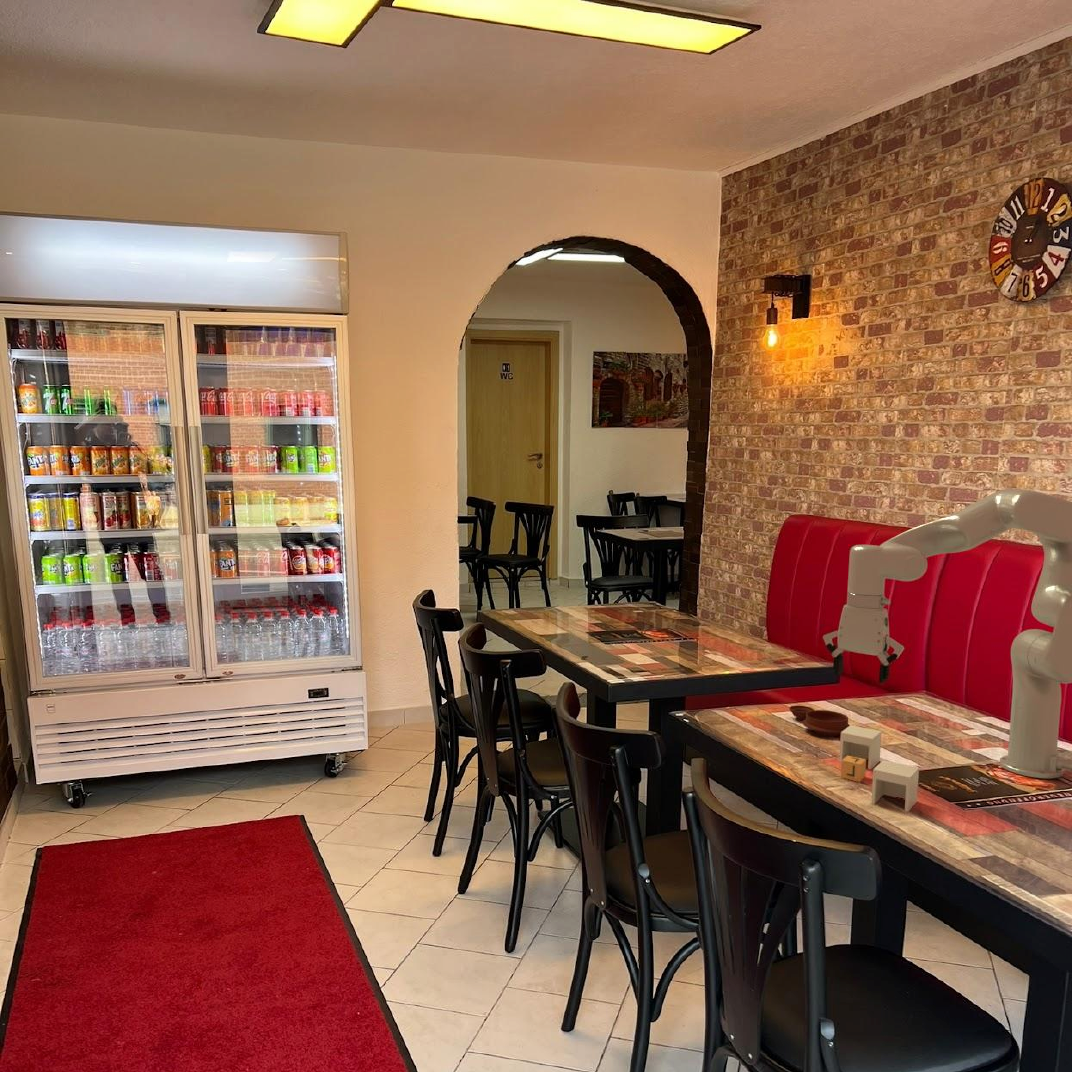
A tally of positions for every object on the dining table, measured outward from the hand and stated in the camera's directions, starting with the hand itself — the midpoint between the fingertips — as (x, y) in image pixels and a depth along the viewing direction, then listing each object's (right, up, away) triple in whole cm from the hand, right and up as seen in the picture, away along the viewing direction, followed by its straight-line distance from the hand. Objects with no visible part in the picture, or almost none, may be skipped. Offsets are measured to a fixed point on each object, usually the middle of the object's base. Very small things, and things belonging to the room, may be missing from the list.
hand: (860, 678), depth 198 cm
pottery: (0, -18, +32) cm, 37 cm away
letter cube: (-3, -21, -3) cm, 22 cm away
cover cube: (+2, -20, +7) cm, 21 cm away
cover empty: (+1, -22, -17) cm, 28 cm away
